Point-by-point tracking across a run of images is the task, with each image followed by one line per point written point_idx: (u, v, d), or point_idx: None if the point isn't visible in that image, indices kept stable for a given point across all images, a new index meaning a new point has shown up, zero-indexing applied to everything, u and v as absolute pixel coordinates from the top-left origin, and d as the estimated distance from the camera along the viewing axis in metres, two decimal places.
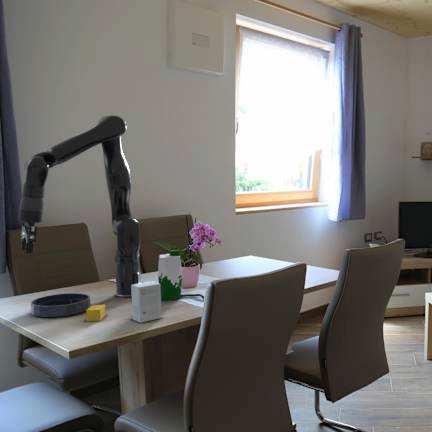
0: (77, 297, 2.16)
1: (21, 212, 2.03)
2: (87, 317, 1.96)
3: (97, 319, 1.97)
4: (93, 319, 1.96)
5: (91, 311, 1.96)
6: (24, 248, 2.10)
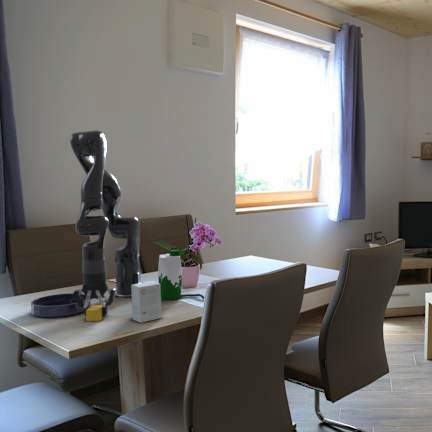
0: None
1: (96, 276, 1.95)
2: (87, 317, 1.96)
3: (97, 319, 1.97)
4: (93, 319, 1.96)
5: (91, 311, 1.96)
6: None
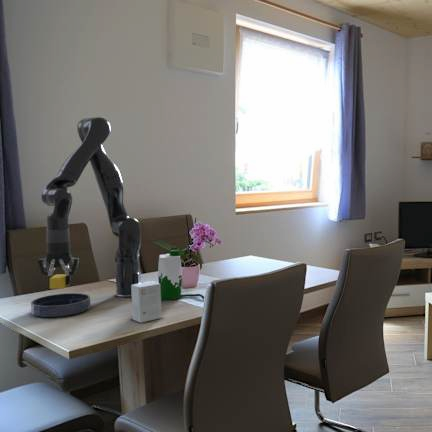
0: (77, 297, 2.16)
1: (60, 245, 2.02)
2: (50, 285, 2.03)
3: (60, 287, 2.04)
4: (56, 287, 2.03)
5: (54, 279, 2.03)
6: None
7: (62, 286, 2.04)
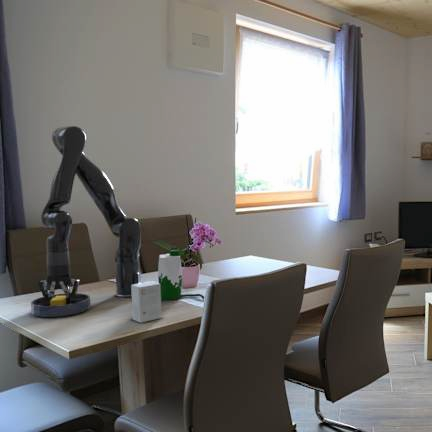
0: (77, 297, 2.16)
1: (60, 268, 2.05)
2: None
3: None
4: None
5: (55, 301, 2.06)
6: None
7: None
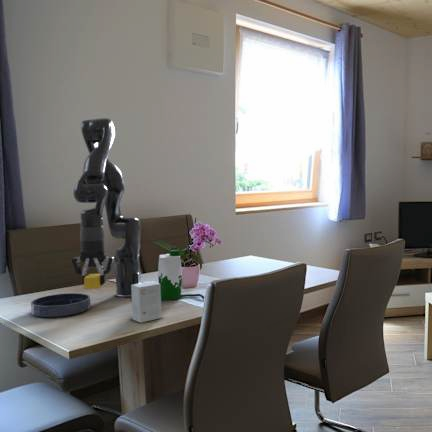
0: (77, 297, 2.16)
1: (94, 243, 1.94)
2: (85, 285, 1.94)
3: (95, 287, 1.95)
4: (91, 287, 1.95)
5: (89, 279, 1.95)
6: None
7: (97, 286, 1.95)
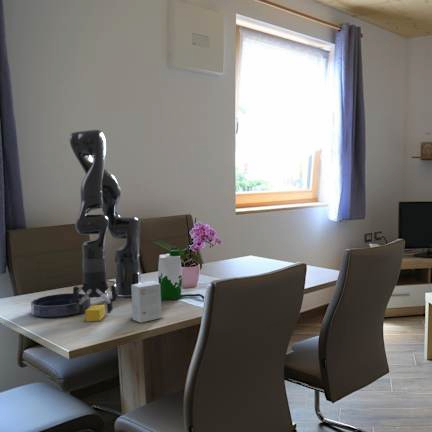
0: None
1: (97, 275, 1.95)
2: (86, 317, 1.96)
3: (96, 319, 1.96)
4: (92, 319, 1.96)
5: (90, 311, 1.96)
6: (84, 312, 1.99)
7: (98, 318, 1.97)
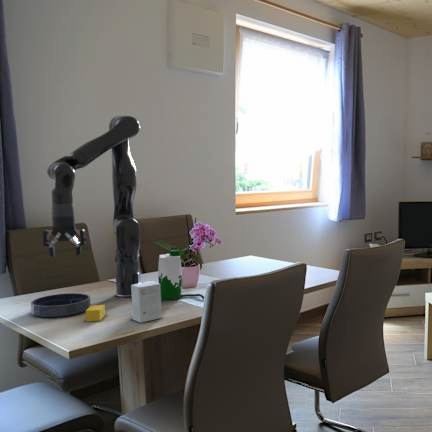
0: (77, 297, 2.16)
1: (65, 219, 2.07)
2: (86, 317, 1.96)
3: (96, 319, 1.96)
4: (92, 319, 1.96)
5: (90, 311, 1.96)
6: (54, 255, 2.10)
7: (98, 318, 1.97)
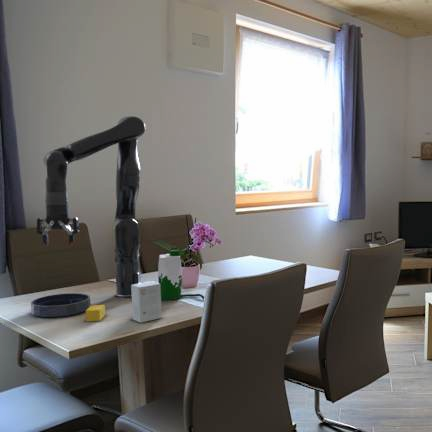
0: (77, 297, 2.16)
1: (59, 207, 2.10)
2: (86, 317, 1.96)
3: (96, 319, 1.96)
4: (92, 319, 1.96)
5: (90, 311, 1.96)
6: (47, 242, 2.13)
7: (98, 318, 1.97)
